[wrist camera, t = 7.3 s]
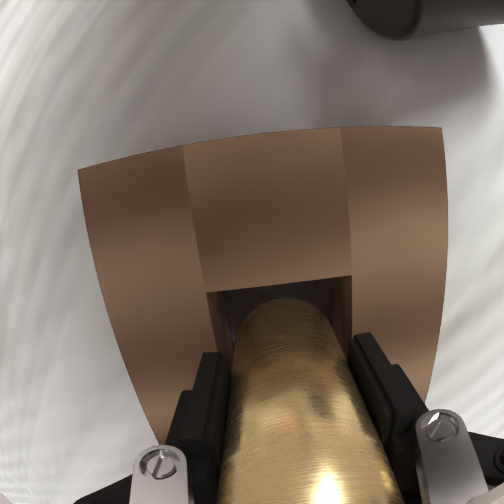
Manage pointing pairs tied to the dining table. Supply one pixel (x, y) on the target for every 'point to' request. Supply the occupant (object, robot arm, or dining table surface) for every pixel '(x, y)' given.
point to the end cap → (425, 16)
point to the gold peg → (298, 417)
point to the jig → (269, 244)
